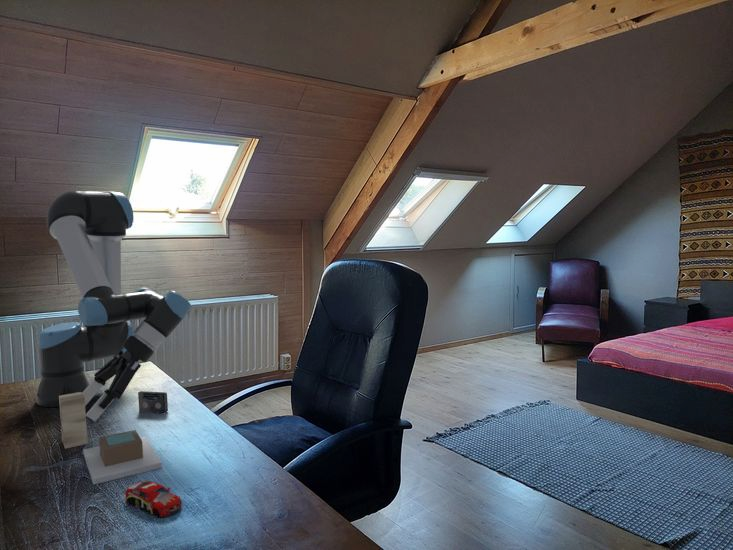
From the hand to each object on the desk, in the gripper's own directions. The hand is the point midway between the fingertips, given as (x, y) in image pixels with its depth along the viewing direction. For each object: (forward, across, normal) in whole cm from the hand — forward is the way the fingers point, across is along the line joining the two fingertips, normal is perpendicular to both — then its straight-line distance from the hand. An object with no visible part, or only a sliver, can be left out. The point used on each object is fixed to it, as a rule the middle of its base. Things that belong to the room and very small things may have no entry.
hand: (84, 410), depth 137 cm
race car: (+3, -42, -10) cm, 43 cm away
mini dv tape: (-8, +12, -20) cm, 24 cm away
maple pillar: (+8, +1, -4) cm, 9 cm away
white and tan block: (+3, -17, -9) cm, 19 cm away
